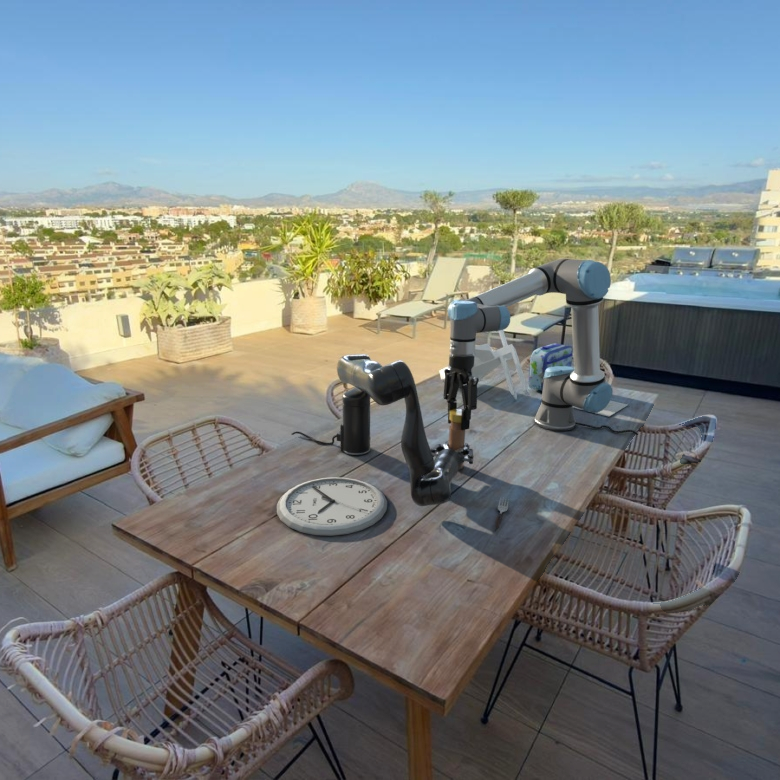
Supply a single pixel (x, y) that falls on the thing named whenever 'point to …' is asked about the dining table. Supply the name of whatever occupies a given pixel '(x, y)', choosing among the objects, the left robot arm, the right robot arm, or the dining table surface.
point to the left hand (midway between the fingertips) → (458, 444)
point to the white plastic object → (495, 363)
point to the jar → (456, 437)
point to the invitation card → (610, 408)
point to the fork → (501, 509)
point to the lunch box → (547, 362)
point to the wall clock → (331, 506)
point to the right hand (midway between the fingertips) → (458, 425)
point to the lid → (455, 415)
